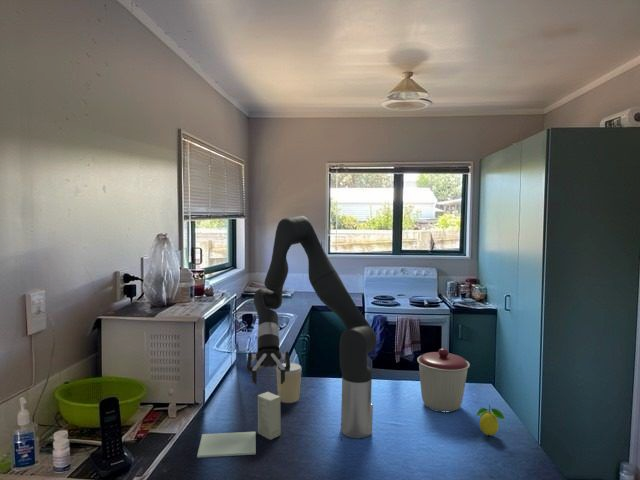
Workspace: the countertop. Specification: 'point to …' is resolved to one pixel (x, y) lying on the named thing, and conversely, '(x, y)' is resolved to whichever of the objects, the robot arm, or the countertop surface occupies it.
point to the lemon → (489, 420)
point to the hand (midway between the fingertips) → (268, 383)
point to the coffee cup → (289, 384)
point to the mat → (227, 444)
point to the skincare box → (269, 415)
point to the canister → (442, 379)
